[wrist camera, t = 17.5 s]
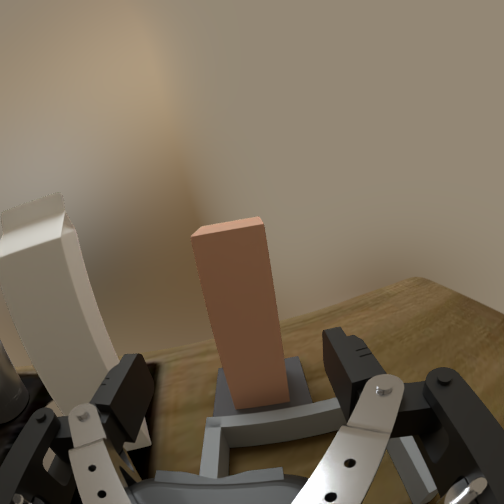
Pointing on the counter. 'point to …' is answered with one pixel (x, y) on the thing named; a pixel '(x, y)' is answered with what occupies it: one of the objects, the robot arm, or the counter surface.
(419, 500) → the stall
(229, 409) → the mat
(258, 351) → the post
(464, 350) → the counter surface
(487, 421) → the robot arm
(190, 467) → the counter surface
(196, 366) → the counter surface
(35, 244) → the milk
